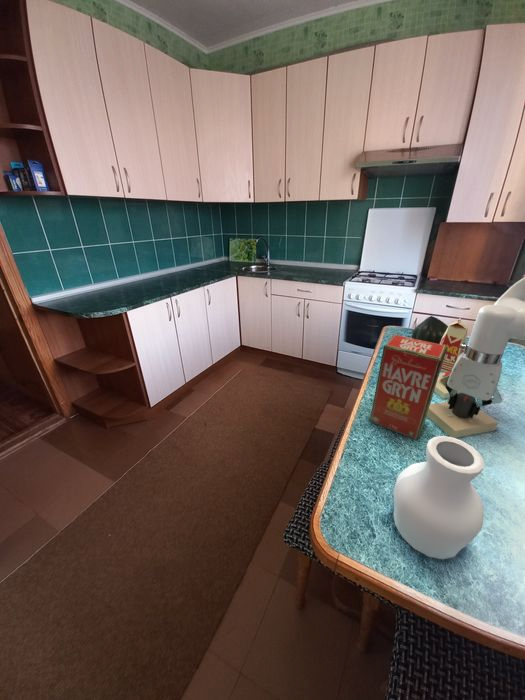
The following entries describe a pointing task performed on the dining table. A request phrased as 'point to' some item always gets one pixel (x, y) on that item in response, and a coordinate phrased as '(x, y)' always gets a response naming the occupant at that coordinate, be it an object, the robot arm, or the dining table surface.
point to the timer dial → (463, 405)
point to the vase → (440, 499)
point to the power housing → (442, 388)
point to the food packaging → (406, 384)
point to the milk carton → (453, 344)
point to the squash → (430, 330)
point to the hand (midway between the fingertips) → (461, 410)
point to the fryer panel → (460, 421)
